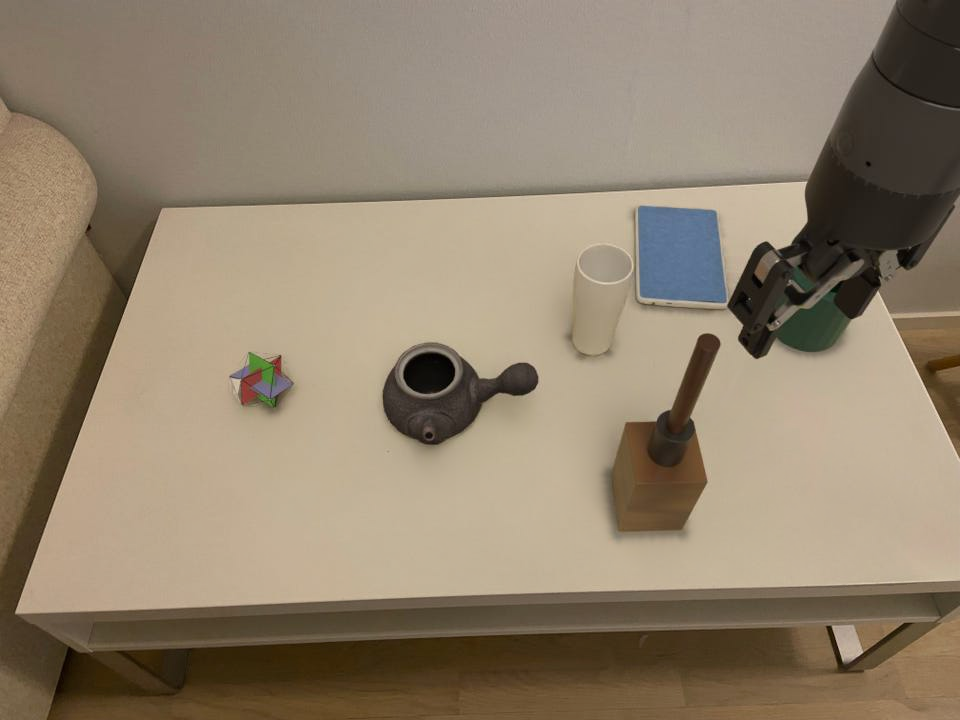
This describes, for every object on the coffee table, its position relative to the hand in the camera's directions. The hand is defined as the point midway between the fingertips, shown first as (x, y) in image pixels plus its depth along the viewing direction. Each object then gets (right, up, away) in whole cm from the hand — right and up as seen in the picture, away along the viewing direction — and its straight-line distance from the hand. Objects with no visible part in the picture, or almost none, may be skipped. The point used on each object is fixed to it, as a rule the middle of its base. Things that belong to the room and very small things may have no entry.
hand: (799, 329), depth 51 cm
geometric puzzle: (-50, -7, +38) cm, 64 cm away
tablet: (+5, +13, +51) cm, 53 cm away
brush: (-5, -11, +19) cm, 23 cm away
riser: (-5, -18, +28) cm, 34 cm away
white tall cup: (-9, 0, +42) cm, 43 cm away
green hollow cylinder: (+20, +3, +43) cm, 48 cm away
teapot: (-26, -9, +36) cm, 45 cm away
